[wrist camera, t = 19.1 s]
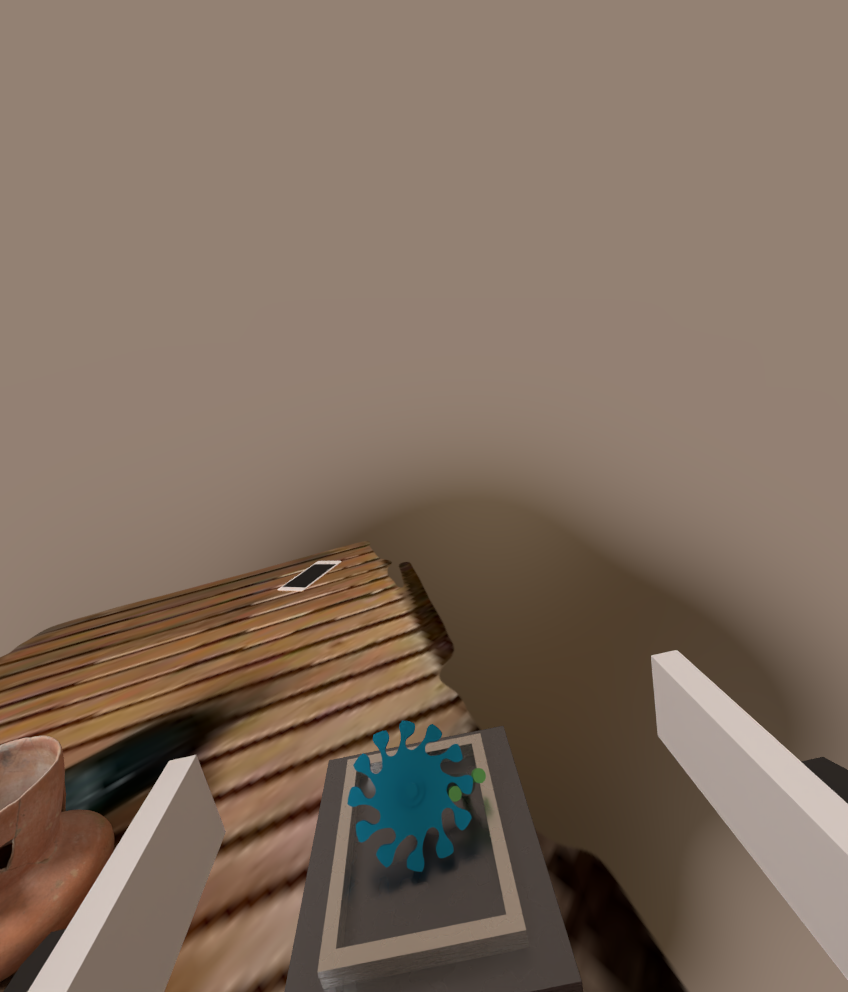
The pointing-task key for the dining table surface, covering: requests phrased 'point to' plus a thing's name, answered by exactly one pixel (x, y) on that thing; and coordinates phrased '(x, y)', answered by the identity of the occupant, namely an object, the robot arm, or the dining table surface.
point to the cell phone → (309, 576)
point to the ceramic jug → (42, 849)
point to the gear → (413, 794)
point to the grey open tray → (432, 892)
